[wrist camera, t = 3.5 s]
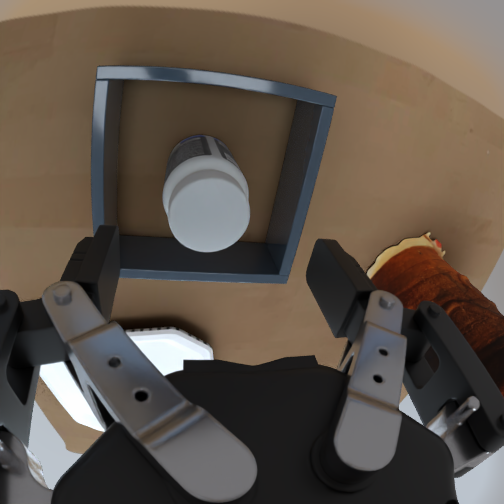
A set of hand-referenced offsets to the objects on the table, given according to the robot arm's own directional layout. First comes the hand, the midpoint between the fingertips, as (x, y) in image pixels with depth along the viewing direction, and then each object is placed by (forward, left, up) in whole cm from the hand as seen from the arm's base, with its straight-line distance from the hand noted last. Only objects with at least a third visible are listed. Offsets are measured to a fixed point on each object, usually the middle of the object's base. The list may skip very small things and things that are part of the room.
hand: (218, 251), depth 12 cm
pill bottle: (0, 0, -12) cm, 12 cm away
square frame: (0, 0, -11) cm, 11 cm away
